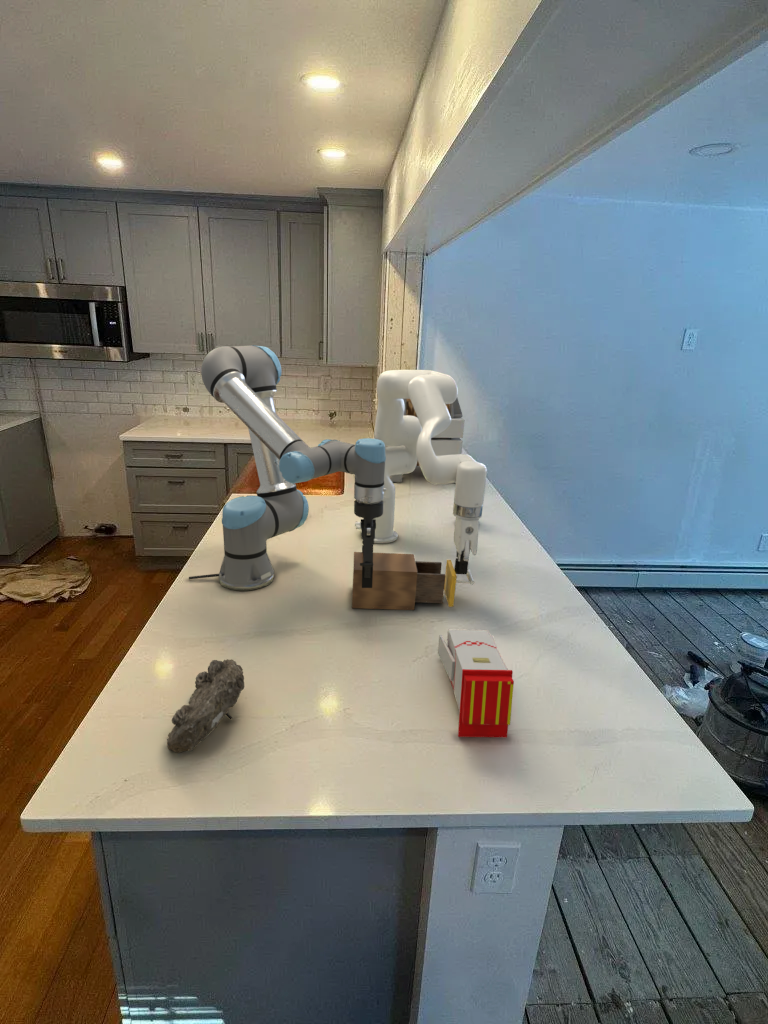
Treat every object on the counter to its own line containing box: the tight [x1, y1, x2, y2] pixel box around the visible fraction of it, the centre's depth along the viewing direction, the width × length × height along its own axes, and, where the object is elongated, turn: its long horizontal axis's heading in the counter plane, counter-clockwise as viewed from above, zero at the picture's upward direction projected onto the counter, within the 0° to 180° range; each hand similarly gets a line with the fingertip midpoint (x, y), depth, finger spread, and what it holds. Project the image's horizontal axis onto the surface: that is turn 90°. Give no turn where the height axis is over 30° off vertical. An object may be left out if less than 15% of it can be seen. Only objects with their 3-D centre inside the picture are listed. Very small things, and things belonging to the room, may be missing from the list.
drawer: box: [415, 559, 476, 608], centre depth 153 cm, size 20×10×9 cm, turn 92°
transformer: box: [385, 397, 465, 483], centre depth 268 cm, size 34×33×41 cm
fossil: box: [166, 658, 245, 754], centre depth 106 cm, size 22×10×15 cm
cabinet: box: [351, 551, 417, 611], centre depth 153 cm, size 16×11×11 cm
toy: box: [437, 628, 515, 738], centre depth 117 cm, size 12×13×30 cm
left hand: (366, 576), depth 152 cm, fingers closed on cabinet, 11 cm apart
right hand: (460, 572), depth 153 cm, fingers closed
